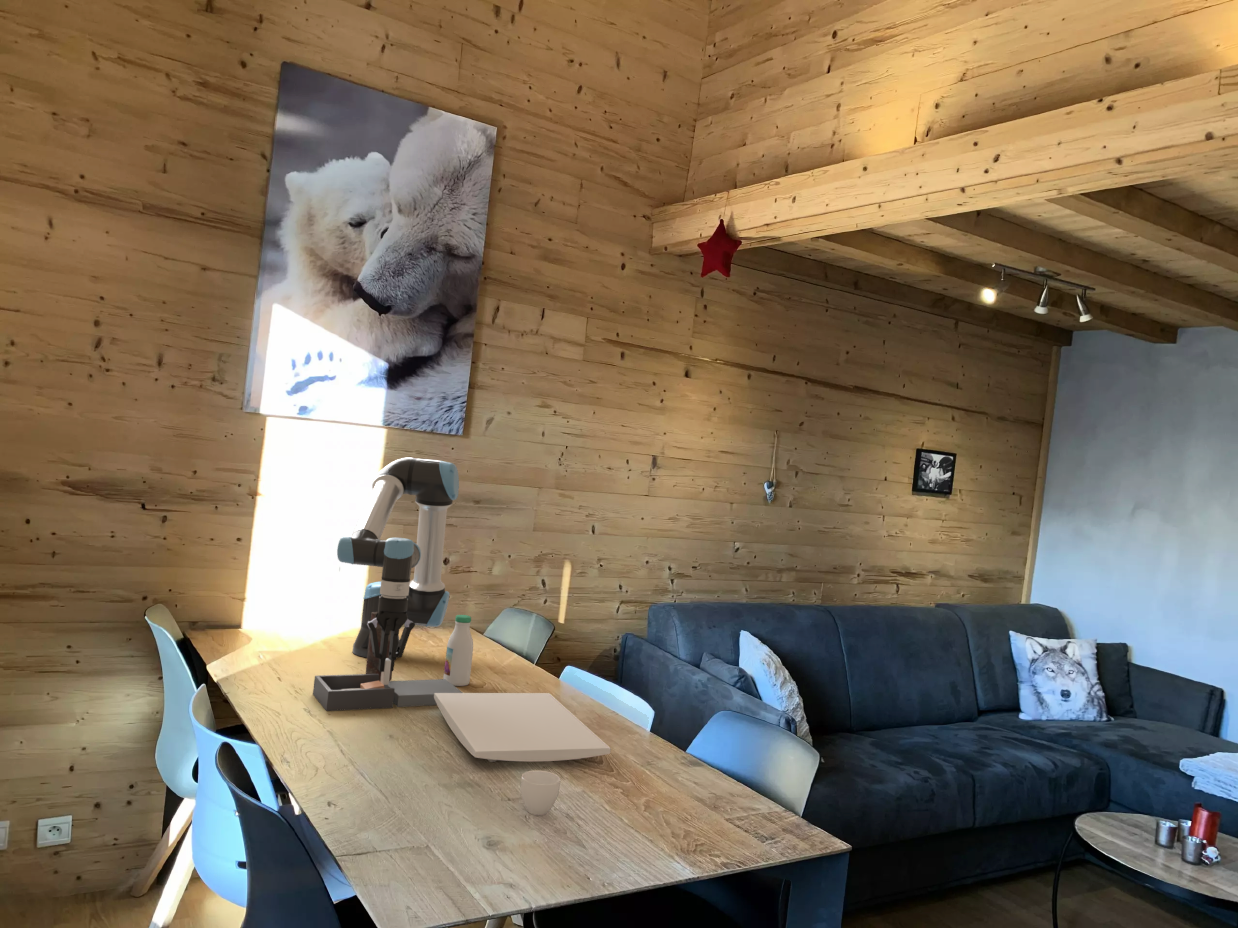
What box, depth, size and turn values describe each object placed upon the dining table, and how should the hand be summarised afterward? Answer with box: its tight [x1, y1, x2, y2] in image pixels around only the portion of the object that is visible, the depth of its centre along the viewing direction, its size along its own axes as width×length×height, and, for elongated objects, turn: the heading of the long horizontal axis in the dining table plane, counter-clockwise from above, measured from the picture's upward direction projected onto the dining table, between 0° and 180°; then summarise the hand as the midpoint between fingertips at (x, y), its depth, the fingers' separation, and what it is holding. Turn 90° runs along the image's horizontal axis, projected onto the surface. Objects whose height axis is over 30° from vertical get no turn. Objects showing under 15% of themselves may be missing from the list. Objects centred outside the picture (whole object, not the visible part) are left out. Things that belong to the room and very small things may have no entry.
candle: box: [365, 612, 393, 681], centre depth 259 cm, size 8×7×20 cm
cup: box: [520, 769, 561, 816], centre depth 180 cm, size 8×10×7 cm
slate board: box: [384, 678, 464, 708], centre depth 247 cm, size 14×18×3 cm
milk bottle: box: [443, 614, 474, 687], centre depth 266 cm, size 8×8×20 cm
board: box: [434, 692, 611, 763], centre depth 223 cm, size 45×32×5 cm
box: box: [312, 673, 395, 712], centre depth 237 cm, size 15×17×5 cm
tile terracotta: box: [360, 681, 384, 689], centre depth 240 cm, size 5×5×2 cm
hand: (384, 683), depth 241 cm, fingers closed
